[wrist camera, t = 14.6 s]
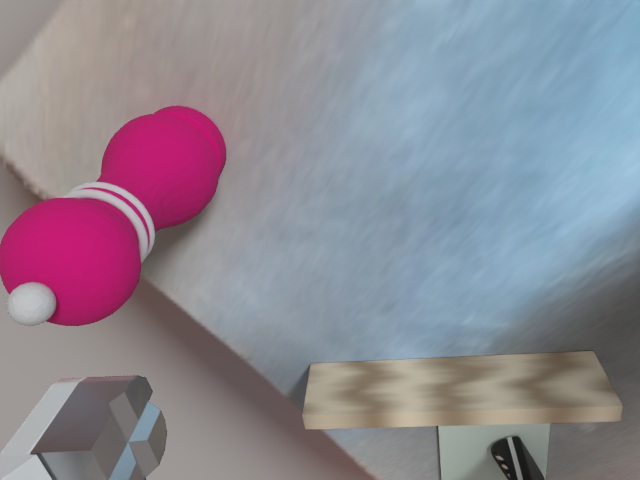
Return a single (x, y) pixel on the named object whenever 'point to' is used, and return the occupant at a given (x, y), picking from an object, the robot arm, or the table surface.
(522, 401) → the wooden plank
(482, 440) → the mat
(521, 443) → the battery charger
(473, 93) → the table surface
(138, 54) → the table surface
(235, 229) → the table surface
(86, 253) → the pepper mill
